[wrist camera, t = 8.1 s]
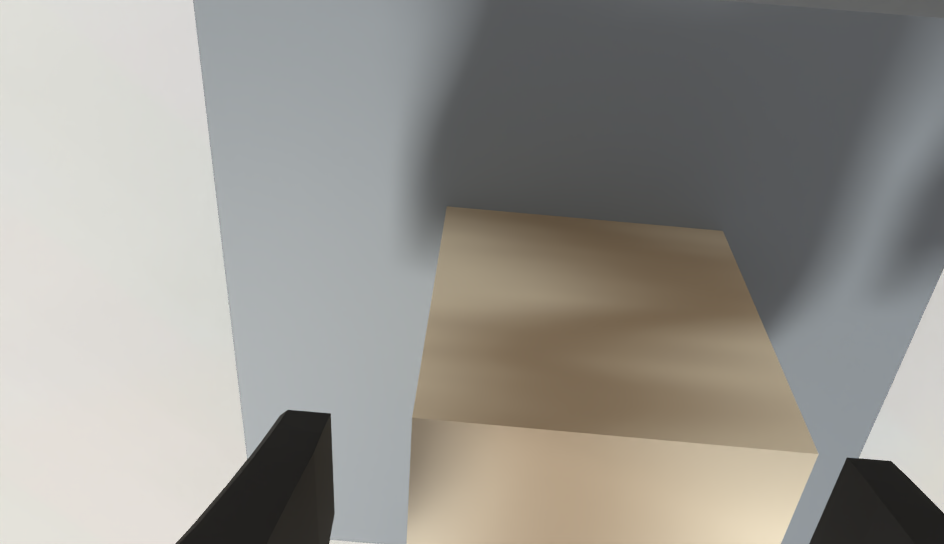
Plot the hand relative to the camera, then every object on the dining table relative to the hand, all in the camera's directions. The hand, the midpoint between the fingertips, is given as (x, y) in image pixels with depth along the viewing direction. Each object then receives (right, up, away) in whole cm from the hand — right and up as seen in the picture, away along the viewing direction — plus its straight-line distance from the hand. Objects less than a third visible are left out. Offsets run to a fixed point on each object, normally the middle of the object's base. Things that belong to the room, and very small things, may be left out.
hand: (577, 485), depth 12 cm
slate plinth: (0, +3, +5) cm, 6 cm away
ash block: (0, +2, +3) cm, 4 cm away
